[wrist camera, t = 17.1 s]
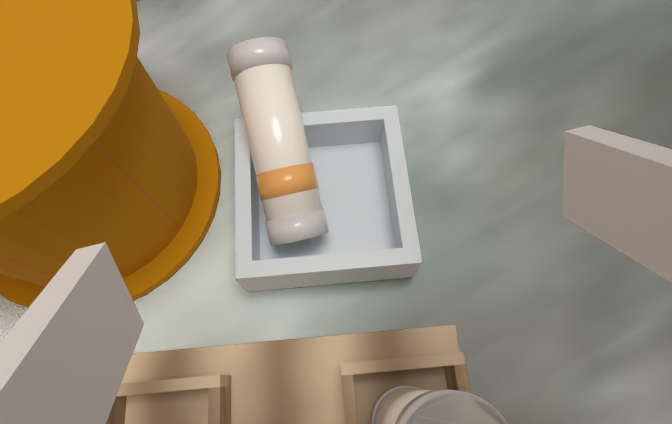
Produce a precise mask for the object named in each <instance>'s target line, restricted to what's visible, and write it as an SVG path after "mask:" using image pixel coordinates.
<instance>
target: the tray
mask: <svg viewBox="0 0 672 424" xmlns="http://www.w3.org/2000/svg"><path fill="white" fill-rule="evenodd" d="M301 115H302V119H303V124H304V128H305V133H306V137H307V142H308V146H309V151H310V155H311V160H312V163H313V165H314V170H315V174H316V179H317V183H318V191H319V196H320V200H321V205H322V208H324V211H325V215H326V220H327V224H328V229H329V232H327V233H325V234H322V235H319V236H316V237H312V238H308V239H304V240H300V241H295V242H291V243H285V244H279V245H270V242H269V237H268V233H267V228H266V224H265V221H266V217H265V213H264V208H263V204H262V201H261V199H260V194H259V190H258V186H257V181H256V177H255V175H256V173H255V169H254V165H253V160H252V156H251V151H250V147H249V143H248V138H247V134H246V130H245V125H244V121H243V118H235V279H236V280H237V281H238V282H239V283H240V284H241V285H242V286H243V287H244V288H245V289H246V290H247V291H248V292H251V291H262V290H274V289H285V288H296V287H308V286H319V285H330V284H342V283H353V282H364V281H376V280H387V279H398V278H410V277H412V276H413V275H414V273H415V272H416V271H417V269H418V268H419V266H420V265H421V263H422V258H421V252H420V246H419V240H418V234H417V227H416V221H415V215H414V209H413V203H412V197H411V190H410V184H409V178H408V172H407V166H406V160H405V153H404V147H403V141H402V135H401V129H400V123H399V116H398V110H397V105H394V106H381V107H369V108H356V109H343V110H331V111H318V112H306V113H301Z"/></svg>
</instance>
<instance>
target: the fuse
mask: <svg viewBox="0 0 672 424" xmlns="http://www.w3.org/2000/svg"><path fill="white" fill-rule="evenodd" d="M371 424H509V423H508V422H507V420H506V419H505V418H504V416H503V415H502V414H501V413H500V412H499V411H498V410H497V409H496V408H495V407H494V406H493V405H491V404H490V403H489V402H487V401H486V400H484V399H482V398H481V397H479V396H476V395H474V394H471V393H468V392H464V391H456V390H447V389H438V390H432V391H431V390H423V389H420V388H417V387H414V386H406V385H399V386H394V387H391V388H389V389H387V390H386V391H384V392H383V393H382V394H381V395H380V396H379V397H378V398H377V400H376V401H375V403H374V406H373V408H372V412H371Z"/></svg>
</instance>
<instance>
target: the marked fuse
mask: <svg viewBox="0 0 672 424" xmlns="http://www.w3.org/2000/svg"><path fill="white" fill-rule="evenodd" d="M227 59H228V63H229V67H230V72H231V76H232V80H233V81H234V82H235V86H236V90H237V95H238V99H239V104H240V108H241V112H242V117H243V121H244V125H245V130H246V134H247V138H248V143H249V147H250V151H251V156H252V160H253V165H254V169H255V173H256V175H255V177H256V181H257V186H258V190H259V194H260V199H261V201H262V204H263V208H264V213H265V217H266V221H265V224H266V228H267V233H268V237H269V242H270V245H279V244H285V243H291V242H295V241H300V240H304V239H308V238H312V237H316V236H319V235H322V234H325V233H327V232H329V229H328V224H327V220H326V215H325V211H324V208H322V205H321V200H320V196H319V191H318V183H317V179H316V174H315V170H314V165H313V163H312V160H311V155H310V151H309V146H308V142H307V137H306V133H305V128H304V124H303V119H302V115H301V110H300V106H299V102H298V97H297V93H296V88H295V84H294V79H293V75H292V69H293V67H292V63H291V58H290V54H289V49H288V45H287V42H286V41H285V40H283V39H281V38H276V37H261V38H254V39H250V40H246V41H243V42H240V43H238V44H236V45H234V46H232V47H231V48H230V49H229V50H228V51H227Z"/></svg>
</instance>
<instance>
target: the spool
mask: <svg viewBox="0 0 672 424" xmlns="http://www.w3.org/2000/svg"><path fill="white" fill-rule="evenodd" d="M139 36H140V28H139V21H138V13H137V5H136V1H135V0H0V294H1V295H3V296H4V297H5V298H7V299H8V300H10V301H12V302H14V303H17V304H20V305H22V306H25V307H27V308H29V307H30V305H31V304H32V303H33V302H34V301H35V299H36V298H37V297H38V296H39V294H40V293H41V292H42V291H43V289H44V288H45V287H46V286H47V285H48V283H49V282H50V281H51V280H52V278H53V277H54V276H55V275H56V274H57V272H58V271H59V270H60V269H61V267H62V266H63V265H64V264H65V262H66V261H67V260H68V259H69V258H70V256H71V255H72V254H73V253H74V251H75V250H76V249H80V248H84V247H88V246H92V245H96V244H100V243H104V242H106V244H107V247H108V249H109V251H110V253H111V255H112V257H113V259H114V261H115V264H116V266H117V268H118V270H119V272H120V274H121V276H122V278H123V281H124V283H125V285H126V287H127V289H128V291H129V293H130V295H131V298H132V300H135V299H138V298H140V297H142V296H144V295H146V294H148V293H149V292H151V291H152V290H153V289H155V288H156V287H158V286H159V285H161V284H162V283H164V282H165V281H167V280H168V279H169V278H170V277H171V276H172V275H173V274H174V273H176V272H177V271H178V270H179V269H180V268H181V267H182V266H183V265H184V264H185V263H186V262H187V261H188V260H189V259H190V257H191V256H192V254H193V253H194V252H195V250H196V249H197V247H198V246H199V245H200V243H201V242H202V240H203V239H204V237H205V235H206V233H207V231H208V229H209V227H210V224H211V222H212V220H213V218H214V216H215V212H216V208H217V204H218V200H219V196H220V181H221V170H220V165H219V160H218V154H217V151H216V148H215V146H214V144H213V142H212V139H211V137H210V135H209V133H208V131H207V129H206V128H205V126H204V125H203V124H202V122H201V121H200V120H199V118H198V117H197V116H196V114H195V113H194V112H193V111H192V110H190V109H189V108H188V107H187V106H186V105H184V104H183V103H182V102H181V101H180V100H178V99H176V98H174V97H172V96H170V95H168V94H166V93H165V92H163V91H160V90H158V89H157V88H156V86H155V84H154V83H153V81H152V80H151V78H150V76H149V75H148V73H147V72H146V70H145V69H144V67H143V65H142V64H141V62H140V61H139V59H138V57H137V52H138V44H139Z"/></svg>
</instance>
